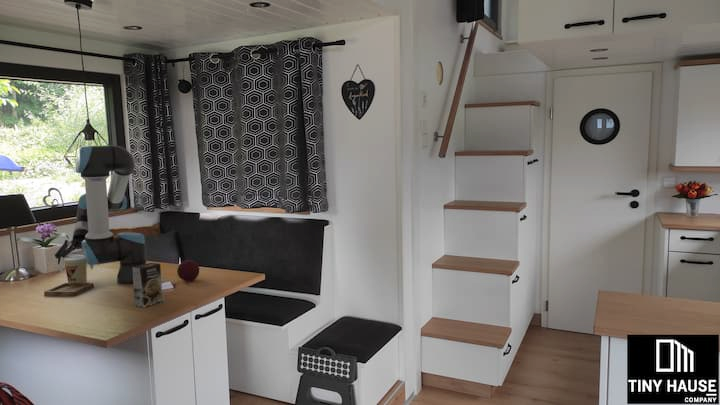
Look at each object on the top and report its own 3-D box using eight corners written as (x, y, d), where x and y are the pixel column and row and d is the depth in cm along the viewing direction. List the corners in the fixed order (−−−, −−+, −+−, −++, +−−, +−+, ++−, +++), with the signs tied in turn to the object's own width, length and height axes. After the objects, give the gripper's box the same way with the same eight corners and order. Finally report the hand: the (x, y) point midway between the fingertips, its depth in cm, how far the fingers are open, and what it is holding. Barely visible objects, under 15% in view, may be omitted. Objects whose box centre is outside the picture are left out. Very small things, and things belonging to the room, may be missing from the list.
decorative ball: (198, 282, 249) (197, 262, 248) (176, 284, 248) (174, 263, 247) (201, 277, 259) (200, 257, 258) (179, 278, 258) (178, 258, 257)
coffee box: (144, 308, 214) (141, 268, 212) (134, 305, 217) (131, 266, 215) (163, 301, 221) (160, 263, 219) (153, 299, 225) (150, 262, 223)
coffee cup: (61, 284, 252) (59, 259, 251) (78, 279, 261) (76, 255, 259) (76, 286, 248) (73, 261, 247) (93, 281, 257) (90, 256, 256)
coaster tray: (93, 287, 246) (93, 283, 246) (73, 296, 232) (73, 291, 232) (65, 287, 248) (65, 282, 248) (44, 295, 234) (44, 291, 234)
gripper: (110, 235, 273) (106, 271, 260) (57, 238, 267) (49, 275, 255) (107, 226, 267) (102, 262, 254) (52, 229, 262) (44, 266, 249)
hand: (75, 269), depth 254 cm, fingers open, 13 cm apart
